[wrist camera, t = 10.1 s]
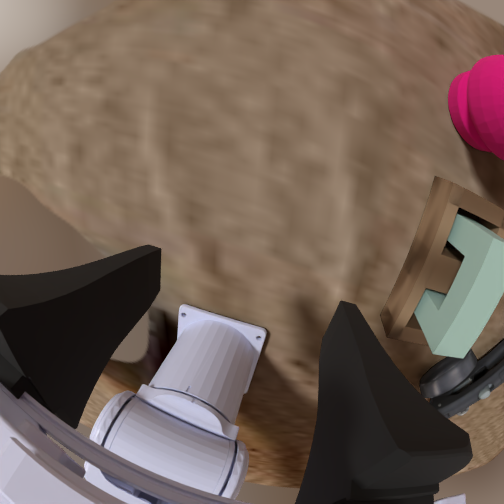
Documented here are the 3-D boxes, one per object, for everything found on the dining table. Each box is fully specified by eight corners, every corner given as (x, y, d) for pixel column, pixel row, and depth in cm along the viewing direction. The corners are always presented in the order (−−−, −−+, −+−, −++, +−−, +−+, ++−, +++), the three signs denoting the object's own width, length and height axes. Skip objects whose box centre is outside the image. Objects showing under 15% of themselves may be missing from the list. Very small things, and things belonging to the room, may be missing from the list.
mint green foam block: (433, 304, 20) (463, 358, 14) (406, 297, 20) (432, 354, 14) (471, 218, 17) (521, 252, 10) (443, 205, 17) (493, 237, 11)
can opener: (423, 400, 25) (432, 437, 19) (412, 368, 23) (424, 410, 18) (537, 330, 18) (557, 357, 13) (540, 287, 17) (566, 314, 12)
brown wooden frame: (436, 328, 21) (447, 348, 18) (380, 315, 21) (386, 337, 18) (492, 205, 16) (512, 215, 13) (434, 175, 16) (453, 182, 14)
